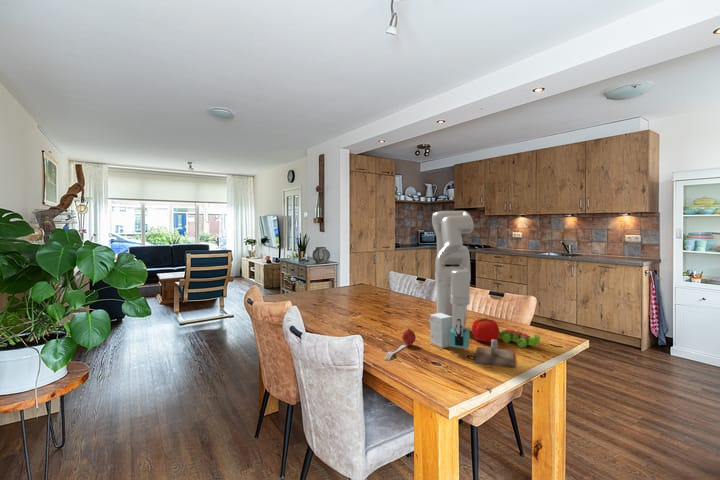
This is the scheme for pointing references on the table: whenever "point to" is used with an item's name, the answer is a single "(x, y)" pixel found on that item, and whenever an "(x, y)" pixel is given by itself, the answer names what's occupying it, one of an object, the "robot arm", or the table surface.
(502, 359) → the post board
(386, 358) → the fork
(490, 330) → the tomato
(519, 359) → the table surface
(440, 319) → the small box
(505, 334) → the toy crocodile
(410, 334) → the onion
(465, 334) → the bead
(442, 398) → the table surface
